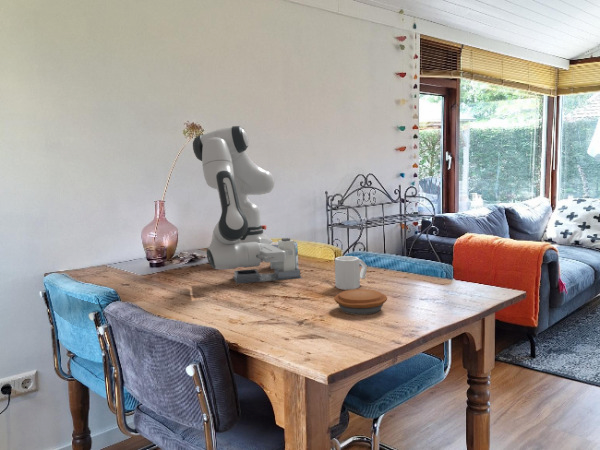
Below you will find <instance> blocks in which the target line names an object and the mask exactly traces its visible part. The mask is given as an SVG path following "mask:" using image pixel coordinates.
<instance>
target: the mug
mask: <svg viewBox="0 0 600 450" xmlns="http://www.w3.org/2000/svg"><path fill="white" fill-rule="evenodd" d="M360 265H361V269H360ZM367 270H368V265H367V264H366V262H365V261H364V260H362V259H360V258H359V257H358V256H351V255H349V256H348V255H346V256H345V255H343V256H338V257H334V271H335V272H334V274H335V275H334V278H335V282H334V283H335V285H334V286H335V287H336V288H337V289H340V290H343V291H348V290H355V289H360V287H361V281H360V280H361V279H363V280H364V279H366V274H367Z"/></svg>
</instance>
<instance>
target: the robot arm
mask: <svg viewBox="0 0 600 450" xmlns="http://www.w3.org/2000/svg"><path fill="white" fill-rule="evenodd" d="M248 147H249V136H248V133H247V132H246V131H245V128H243V127H242V126H240V125H233V126H231V127H224V128H218V129H216V130H213V131H210V132H209V131H208V132H207V133H205V134H199V135H198V136H196V137H194V139H193V140H192V150H193V153H194V155H195V157H196V159H197V160H199V161H201V163H202V171H203V176H204V179H205V183H206V185H207V186H208V187H210V188H212V189H214V190H217V192H218V197H219V202H220V209H221V214H220V217H219V220H218V222H217V224H216V225H215V226H214V228H213V231H212V237H211V241H210V244H209V246H208V248H207V249H206V258H207V261H208V263H209V266H210V267H212V269H215V270H234V269H237V268H241V267H242V268H250V267H259V266H260V265H261V263H270V262H282V261H285V260H286V256H288V255H292V254H293V251H292V250H285V251H284V250H281V249H279V248H278V247H274V246H272V245H270V244H271V243H272V242H273V240H272V239H271V238H270V237H269V236H268V235H266V234H265V233H264V231H266V230H267V228H268V227H267V225H266V224H264V225H263V224H261V210H260V207H259V206H258V204H255V203H254V202H252V201H251V200H250V199H249V197H248V196H259V195H266V194H269V193H271V192H272V191H273V189H274V187H275V178H274V175H273V173H272V172H271V171H268V170H266V169H264V168H262V167H260V166H259V165H257V164H256V163H255V162H254V161H253V160H252V159H251V158H250V156H249V155H248V153H247V151H246V150H247V149H248Z"/></svg>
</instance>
